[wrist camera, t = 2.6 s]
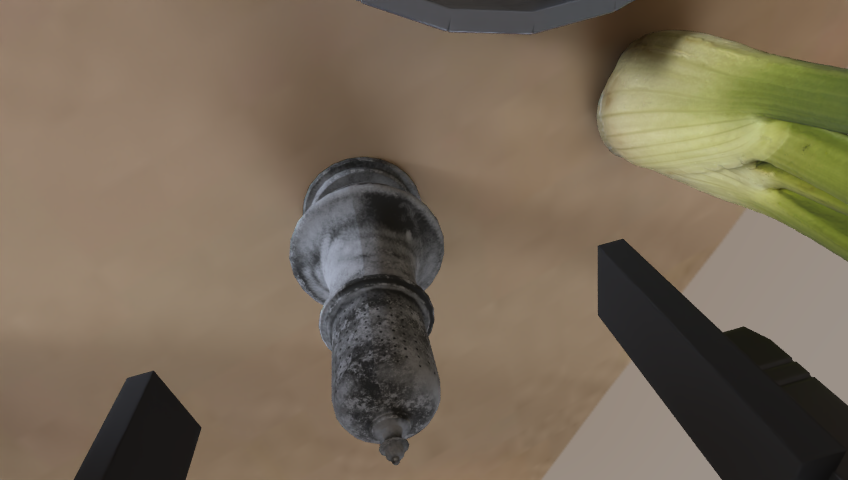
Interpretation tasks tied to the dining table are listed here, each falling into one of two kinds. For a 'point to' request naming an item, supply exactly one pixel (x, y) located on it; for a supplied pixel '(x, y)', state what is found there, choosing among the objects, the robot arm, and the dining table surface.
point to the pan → (497, 13)
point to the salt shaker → (373, 296)
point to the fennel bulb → (736, 127)
